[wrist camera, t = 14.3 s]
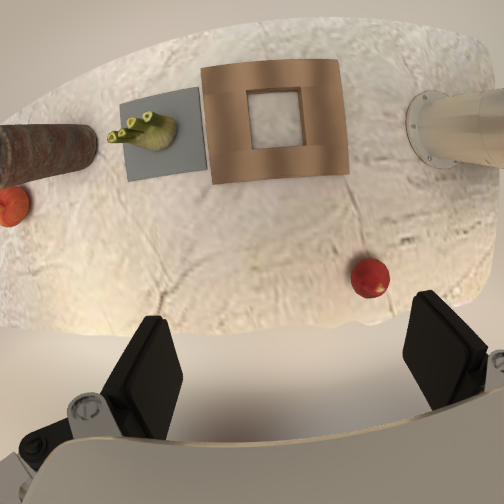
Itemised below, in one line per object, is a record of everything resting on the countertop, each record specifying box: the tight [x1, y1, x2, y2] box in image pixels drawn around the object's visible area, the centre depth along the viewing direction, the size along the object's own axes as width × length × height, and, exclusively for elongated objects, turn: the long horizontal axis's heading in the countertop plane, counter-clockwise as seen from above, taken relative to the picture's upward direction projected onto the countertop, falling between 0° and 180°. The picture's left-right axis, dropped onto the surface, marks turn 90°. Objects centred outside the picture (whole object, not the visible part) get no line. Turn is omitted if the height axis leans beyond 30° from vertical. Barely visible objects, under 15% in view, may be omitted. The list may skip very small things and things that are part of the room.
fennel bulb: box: [107, 111, 177, 151], centre depth 32 cm, size 6×5×12 cm
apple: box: [0, 186, 29, 227], centre depth 37 cm, size 7×7×8 cm
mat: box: [120, 87, 207, 182], centre depth 37 cm, size 12×12×1 cm
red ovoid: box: [351, 258, 390, 298], centre depth 40 cm, size 6×6×8 cm
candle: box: [0, 124, 96, 190], centre depth 29 cm, size 8×7×20 cm
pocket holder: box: [201, 59, 349, 185], centre depth 36 cm, size 18×16×3 cm
